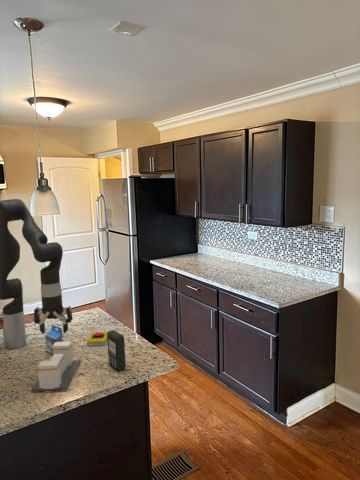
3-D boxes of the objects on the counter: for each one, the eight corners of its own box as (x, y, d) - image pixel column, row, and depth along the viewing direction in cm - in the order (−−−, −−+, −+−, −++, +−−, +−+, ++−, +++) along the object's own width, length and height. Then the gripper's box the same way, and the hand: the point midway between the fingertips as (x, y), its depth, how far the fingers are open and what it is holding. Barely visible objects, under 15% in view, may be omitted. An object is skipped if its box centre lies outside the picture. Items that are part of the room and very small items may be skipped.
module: (50, 377, 141) (48, 361, 140) (55, 370, 148) (53, 354, 147) (60, 377, 142) (59, 360, 141) (65, 369, 148) (63, 353, 147)
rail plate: (31, 392, 134) (31, 389, 133) (50, 364, 155) (50, 361, 155) (66, 391, 134) (66, 388, 134) (80, 362, 156) (80, 360, 156)
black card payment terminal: (107, 364, 154) (105, 331, 151) (115, 361, 156) (113, 328, 154) (118, 372, 147) (116, 338, 144) (126, 369, 149) (124, 335, 147)
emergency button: (109, 328, 184) (104, 340, 169) (110, 336, 184) (105, 349, 169) (91, 329, 183) (84, 341, 169) (92, 337, 184) (85, 350, 169)
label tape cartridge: (46, 351, 168) (43, 326, 166) (53, 348, 171) (51, 324, 169) (56, 357, 162) (54, 331, 160) (64, 353, 165) (62, 328, 163)
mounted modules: (39, 388, 134) (37, 366, 133) (56, 361, 155) (55, 342, 154) (58, 387, 134) (56, 365, 133) (73, 360, 155) (71, 341, 154)
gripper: (29, 297, 136) (32, 337, 138) (67, 295, 136) (69, 336, 139) (36, 291, 143) (39, 329, 146) (72, 290, 144) (74, 328, 146)
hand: (54, 332), depth 142 cm, fingers open, 8 cm apart
